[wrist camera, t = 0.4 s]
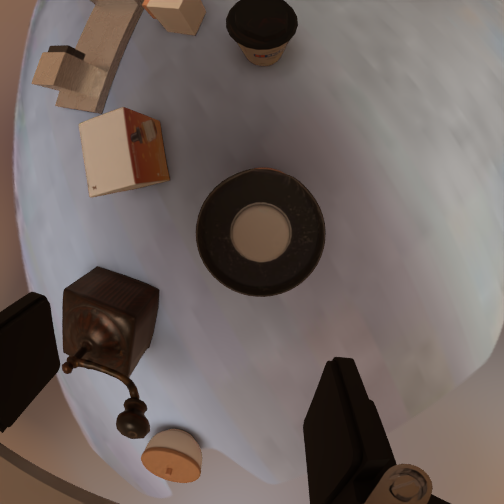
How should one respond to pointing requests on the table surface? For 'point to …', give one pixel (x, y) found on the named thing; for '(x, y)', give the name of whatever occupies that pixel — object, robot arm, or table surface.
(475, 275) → the table surface
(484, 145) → the table surface
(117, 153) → the small box
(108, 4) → the rail
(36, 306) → the robot arm
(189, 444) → the lidded jar
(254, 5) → the coffee cup
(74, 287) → the manual coffee grinder
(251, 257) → the travel mug
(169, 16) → the beige orange block
